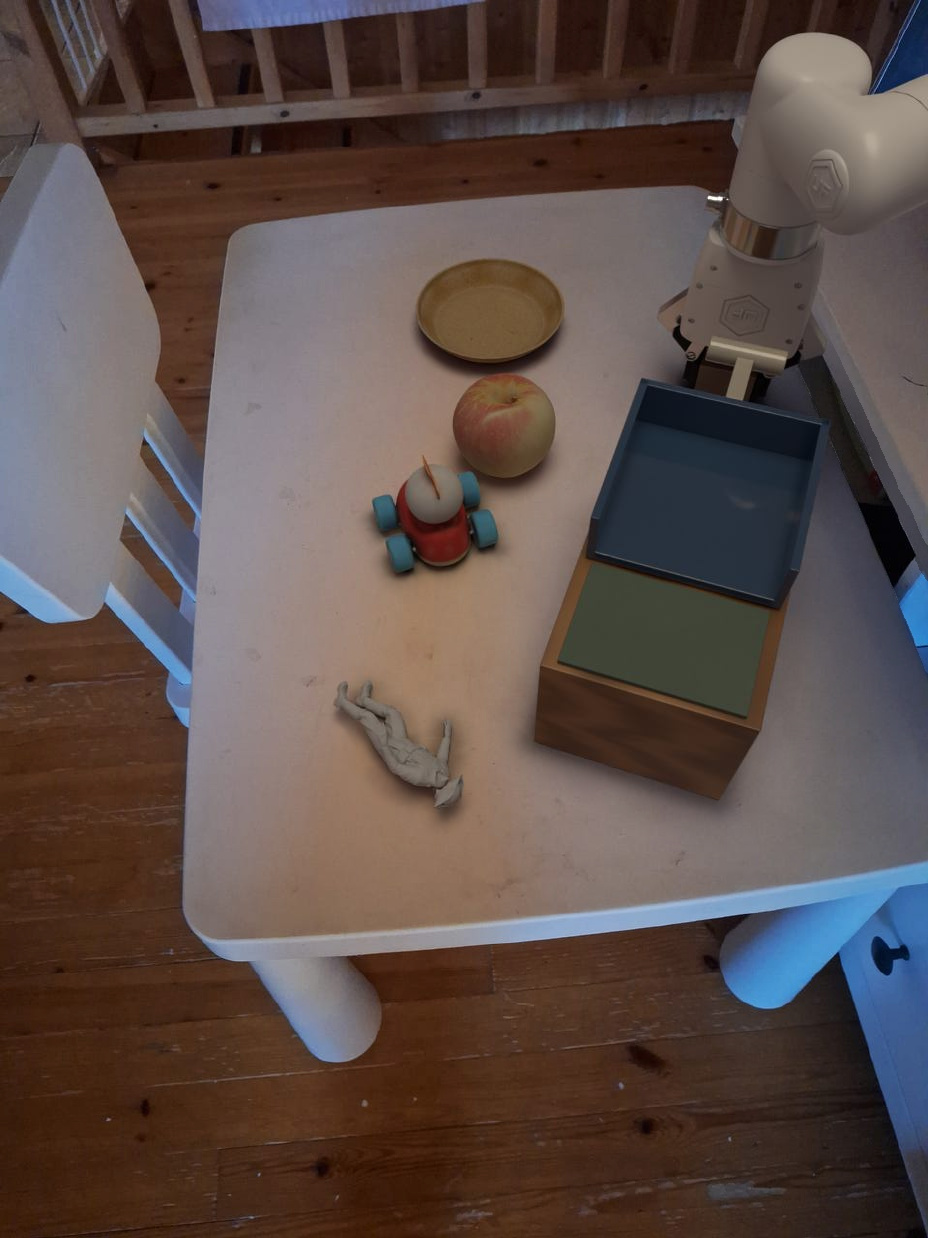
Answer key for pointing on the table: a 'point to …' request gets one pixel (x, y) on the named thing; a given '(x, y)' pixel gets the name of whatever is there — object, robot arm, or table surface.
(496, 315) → the plant saucer
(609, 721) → the stand
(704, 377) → the block
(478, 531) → the toy car
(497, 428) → the apple
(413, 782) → the soldier figure
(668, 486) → the blue open box
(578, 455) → the table surface
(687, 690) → the mat
